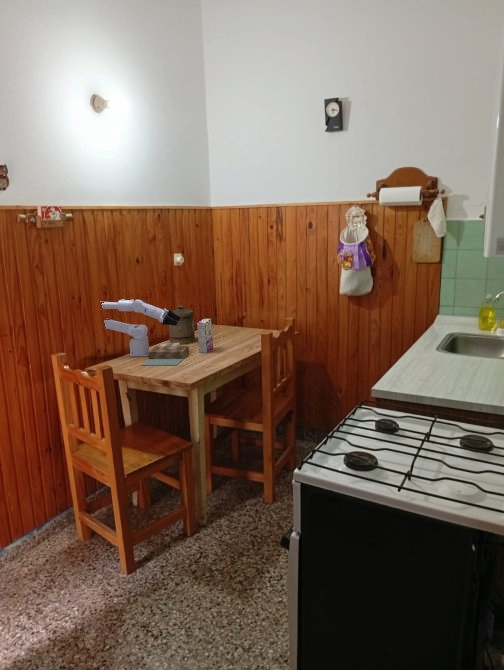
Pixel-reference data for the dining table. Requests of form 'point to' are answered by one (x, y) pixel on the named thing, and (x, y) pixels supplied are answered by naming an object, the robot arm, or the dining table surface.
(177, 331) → the wooden container
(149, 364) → the rubber mat
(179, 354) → the walnut board
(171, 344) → the birch tile
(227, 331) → the dining table surface
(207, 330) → the candy bar box
